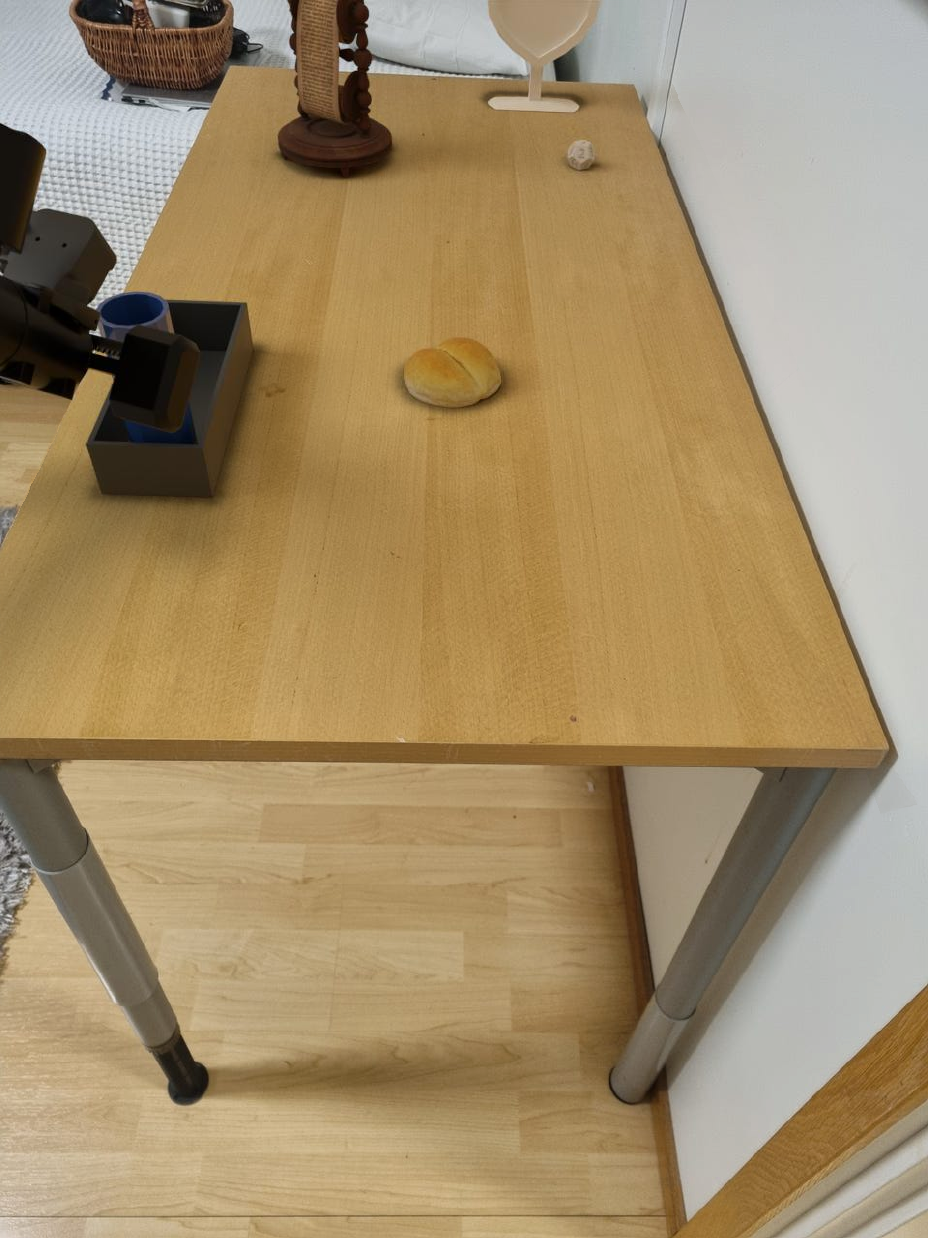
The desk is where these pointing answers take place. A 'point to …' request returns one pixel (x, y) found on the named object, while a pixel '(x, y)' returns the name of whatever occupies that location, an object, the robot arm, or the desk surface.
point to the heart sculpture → (540, 42)
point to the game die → (581, 154)
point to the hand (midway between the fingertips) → (132, 384)
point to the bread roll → (452, 373)
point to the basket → (211, 403)
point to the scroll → (332, 89)
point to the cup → (114, 325)
